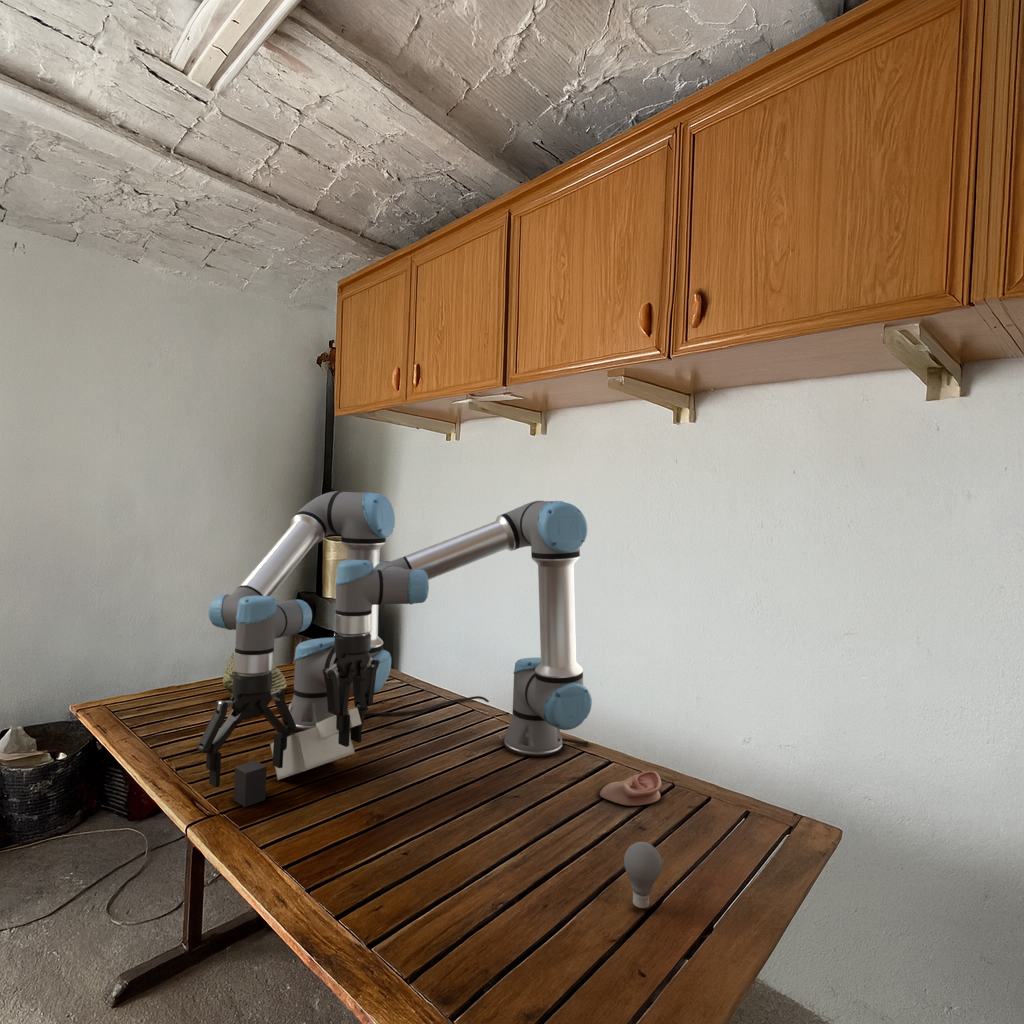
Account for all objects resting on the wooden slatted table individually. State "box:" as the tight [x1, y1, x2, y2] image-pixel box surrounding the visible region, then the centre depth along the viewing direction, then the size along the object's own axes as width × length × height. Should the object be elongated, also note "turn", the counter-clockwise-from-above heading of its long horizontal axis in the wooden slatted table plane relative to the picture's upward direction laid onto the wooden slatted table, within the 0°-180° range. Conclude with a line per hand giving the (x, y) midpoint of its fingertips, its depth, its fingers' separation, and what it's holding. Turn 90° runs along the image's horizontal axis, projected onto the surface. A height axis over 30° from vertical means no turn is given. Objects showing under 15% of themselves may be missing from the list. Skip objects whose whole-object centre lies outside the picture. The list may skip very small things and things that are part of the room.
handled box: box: [269, 707, 362, 781], centre depth 140 cm, size 13×24×9 cm, turn 51°
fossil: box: [222, 650, 288, 699], centre depth 198 cm, size 9×18×15 cm, turn 132°
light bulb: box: [623, 841, 663, 909], centre depth 102 cm, size 6×6×10 cm
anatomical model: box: [599, 770, 662, 806], centre depth 141 cm, size 13×4×12 cm
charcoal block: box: [233, 760, 268, 808], centre depth 131 cm, size 4×4×7 cm
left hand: (247, 775), depth 130 cm, fingers open, 13 cm apart
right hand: (349, 742), depth 135 cm, fingers closed on handled box, 2 cm apart
